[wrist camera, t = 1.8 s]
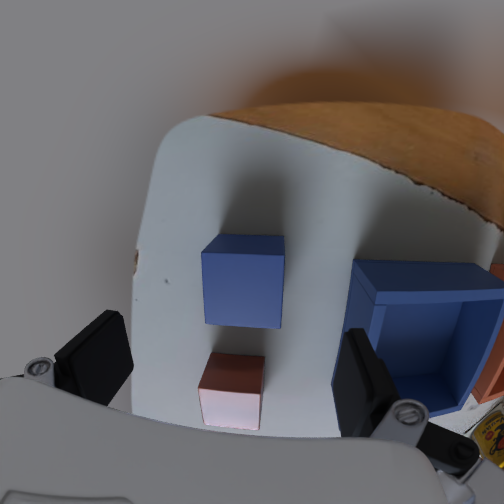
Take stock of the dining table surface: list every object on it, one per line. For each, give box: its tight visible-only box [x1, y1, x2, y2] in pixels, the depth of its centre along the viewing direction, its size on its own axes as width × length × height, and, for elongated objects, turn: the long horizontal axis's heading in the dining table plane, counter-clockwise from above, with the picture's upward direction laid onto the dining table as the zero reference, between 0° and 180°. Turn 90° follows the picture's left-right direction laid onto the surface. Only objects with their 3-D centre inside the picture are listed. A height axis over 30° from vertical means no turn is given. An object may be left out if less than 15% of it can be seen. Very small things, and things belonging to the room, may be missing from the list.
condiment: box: [463, 403, 504, 470], centre depth 18 cm, size 7×8×12 cm
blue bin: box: [331, 259, 504, 430], centre depth 17 cm, size 12×12×6 cm
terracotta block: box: [198, 353, 265, 430], centre depth 21 cm, size 4×4×4 cm
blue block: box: [201, 234, 285, 329], centre depth 18 cm, size 4×4×4 cm
